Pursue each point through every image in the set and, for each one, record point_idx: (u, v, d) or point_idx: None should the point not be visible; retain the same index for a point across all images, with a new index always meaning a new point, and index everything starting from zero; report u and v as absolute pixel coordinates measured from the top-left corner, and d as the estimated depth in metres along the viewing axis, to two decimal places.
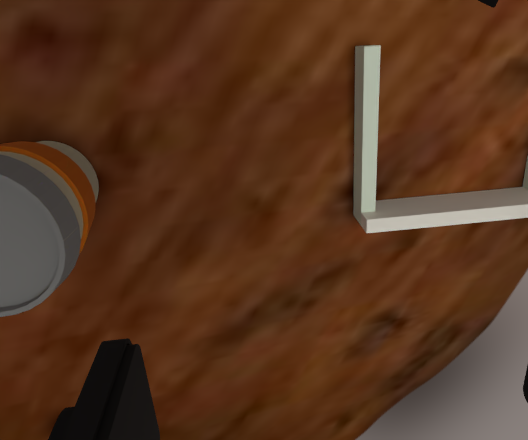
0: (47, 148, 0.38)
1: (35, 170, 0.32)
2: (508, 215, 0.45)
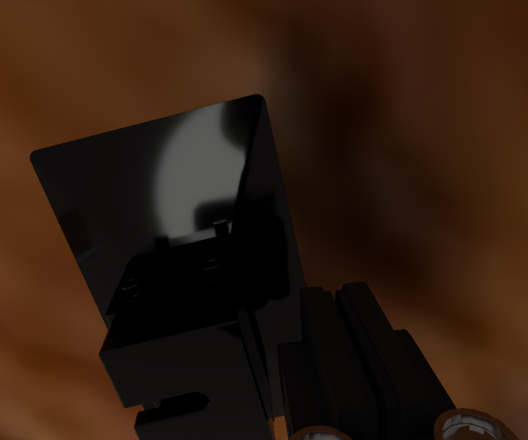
0: None
1: None
2: None
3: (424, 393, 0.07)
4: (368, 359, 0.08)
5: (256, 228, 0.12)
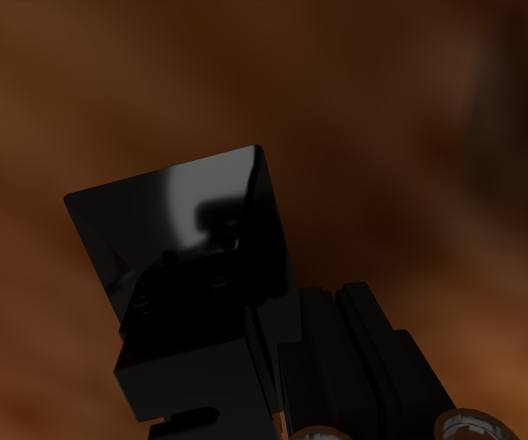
0: None
1: None
2: None
3: (424, 393, 0.07)
4: (368, 359, 0.08)
5: (262, 243, 0.12)
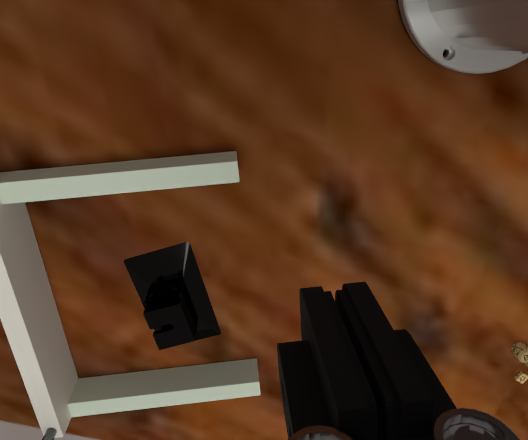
0: None
1: None
2: (29, 380, 0.33)
3: (424, 392, 0.07)
4: (368, 359, 0.08)
5: (191, 274, 0.36)
